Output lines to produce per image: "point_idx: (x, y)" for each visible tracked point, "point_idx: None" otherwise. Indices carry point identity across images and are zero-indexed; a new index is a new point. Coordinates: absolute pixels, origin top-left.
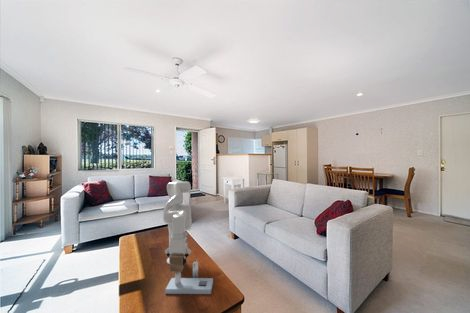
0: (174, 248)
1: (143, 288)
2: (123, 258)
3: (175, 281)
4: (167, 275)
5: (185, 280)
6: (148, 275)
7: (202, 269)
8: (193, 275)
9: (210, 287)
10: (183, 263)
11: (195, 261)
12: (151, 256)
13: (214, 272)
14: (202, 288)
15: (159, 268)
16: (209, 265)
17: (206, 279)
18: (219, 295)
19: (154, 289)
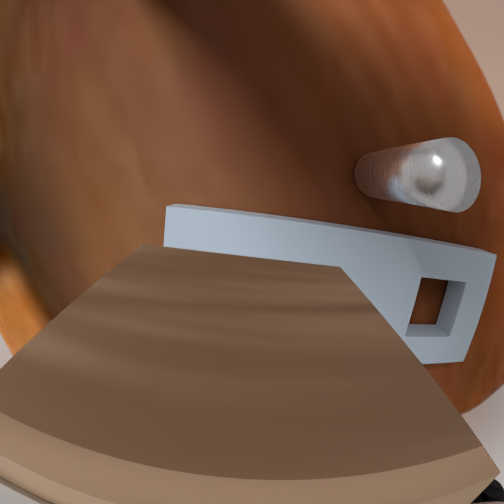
0: None
1: (22, 253)
2: None
3: None
4: (122, 109)
5: (308, 259)
6: (9, 120)
7: (412, 69)
8: (374, 192)
9: (466, 345)
10: None
11: (453, 149)
12: None
13: (488, 136)
14: (426, 356)
15: (58, 36)
16: (449, 40)
17: (463, 264)
18: (478, 352)
19: (81, 273)
